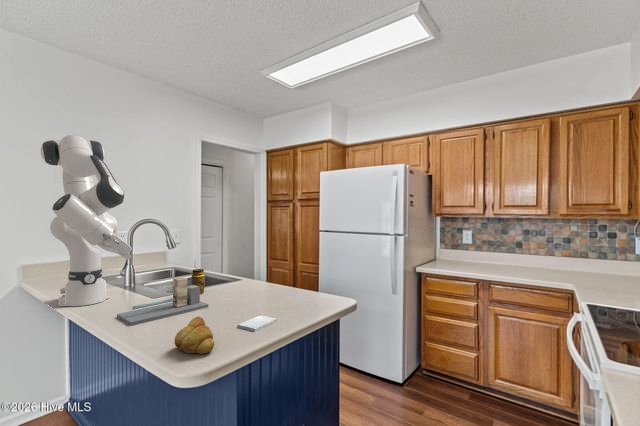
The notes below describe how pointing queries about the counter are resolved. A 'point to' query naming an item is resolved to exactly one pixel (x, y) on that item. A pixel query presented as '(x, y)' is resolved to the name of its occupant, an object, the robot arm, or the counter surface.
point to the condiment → (198, 279)
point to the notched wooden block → (180, 291)
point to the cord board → (163, 308)
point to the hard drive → (256, 323)
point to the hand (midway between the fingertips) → (129, 257)
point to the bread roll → (195, 337)
